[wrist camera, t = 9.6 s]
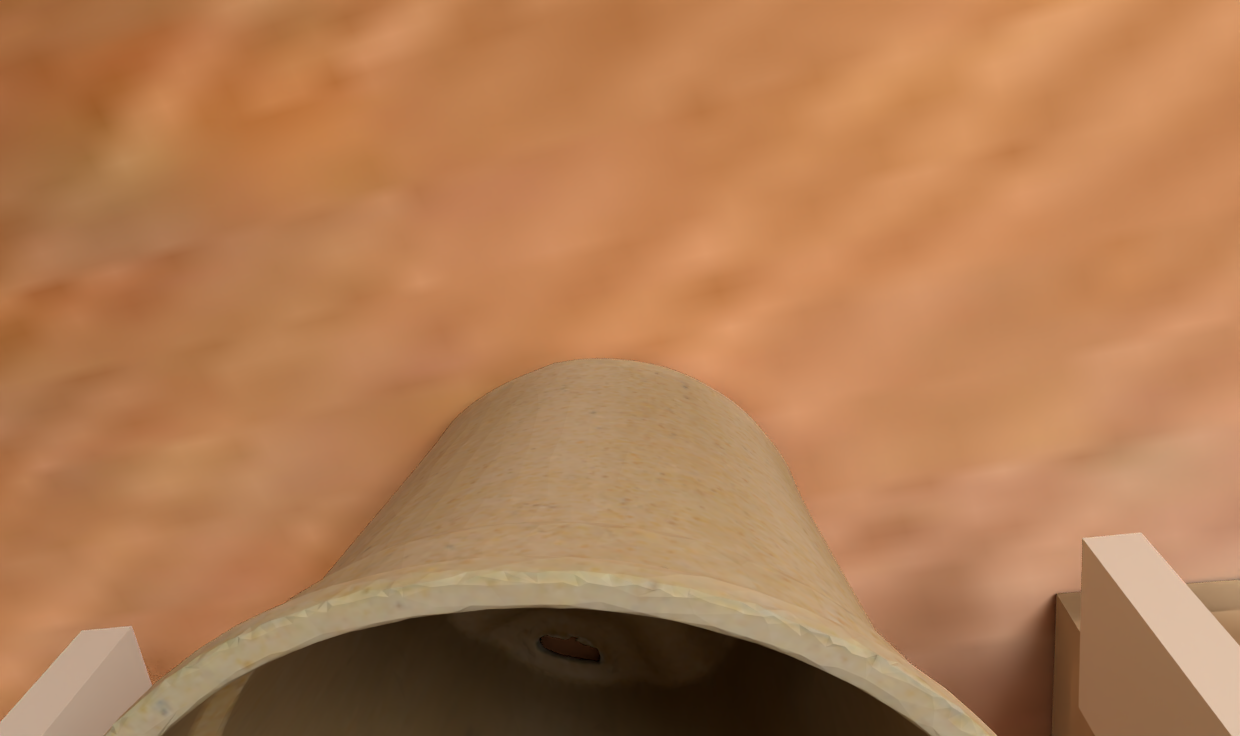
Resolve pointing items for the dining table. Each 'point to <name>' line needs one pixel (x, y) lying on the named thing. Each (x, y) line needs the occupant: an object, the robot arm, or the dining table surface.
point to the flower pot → (571, 591)
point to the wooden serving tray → (1226, 600)
